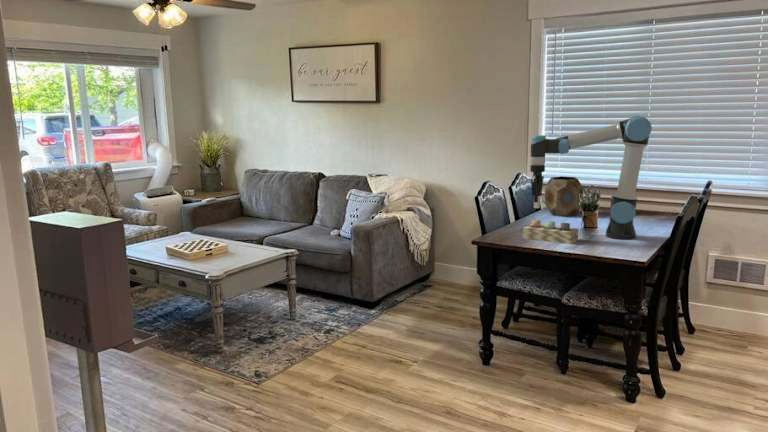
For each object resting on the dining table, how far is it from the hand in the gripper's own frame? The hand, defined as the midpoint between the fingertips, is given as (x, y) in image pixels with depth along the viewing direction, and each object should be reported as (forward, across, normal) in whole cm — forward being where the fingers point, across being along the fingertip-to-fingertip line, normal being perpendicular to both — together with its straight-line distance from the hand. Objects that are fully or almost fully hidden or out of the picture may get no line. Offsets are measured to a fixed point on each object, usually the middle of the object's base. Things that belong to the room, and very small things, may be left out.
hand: (536, 207), depth 311 cm
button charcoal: (+11, 0, +16) cm, 20 cm away
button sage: (+11, 0, +8) cm, 14 cm away
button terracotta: (+11, 0, 0) cm, 11 cm away
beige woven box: (+16, 0, +8) cm, 18 cm away
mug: (+17, -96, -28) cm, 102 cm away
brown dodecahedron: (+17, -74, -11) cm, 76 cm away
